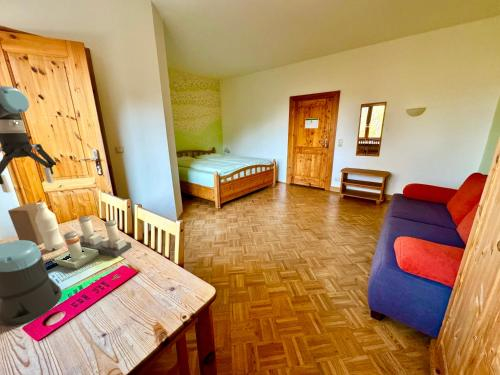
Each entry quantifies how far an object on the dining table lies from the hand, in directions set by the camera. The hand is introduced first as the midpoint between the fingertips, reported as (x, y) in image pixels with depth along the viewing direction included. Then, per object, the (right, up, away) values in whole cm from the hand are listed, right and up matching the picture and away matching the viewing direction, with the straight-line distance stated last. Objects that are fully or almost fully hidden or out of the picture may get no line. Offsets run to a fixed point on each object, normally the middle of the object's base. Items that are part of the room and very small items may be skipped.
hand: (30, 187), depth 81 cm
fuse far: (+5, -28, +24) cm, 37 cm away
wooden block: (-29, -30, +31) cm, 52 cm away
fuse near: (+22, -29, +19) cm, 41 cm away
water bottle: (-12, -32, +23) cm, 41 cm away
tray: (+8, -34, +14) cm, 38 cm away
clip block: (+13, -31, +22) cm, 41 cm away
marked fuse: (+8, -33, +13) cm, 37 cm away
